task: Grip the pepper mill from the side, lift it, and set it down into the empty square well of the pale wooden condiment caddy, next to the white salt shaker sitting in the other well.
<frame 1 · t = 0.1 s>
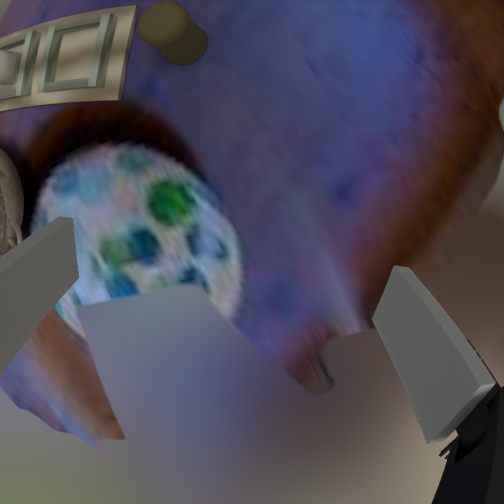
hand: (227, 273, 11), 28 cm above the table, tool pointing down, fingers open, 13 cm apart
salt shaker: (14, 68, 27), point 1 cm above the table, touching condiment caddy
cooking pot: (7, 189, 37), on the table
condiment caddy: (48, 62, 29), on the table
pepper mill: (184, 44, 30), on the table
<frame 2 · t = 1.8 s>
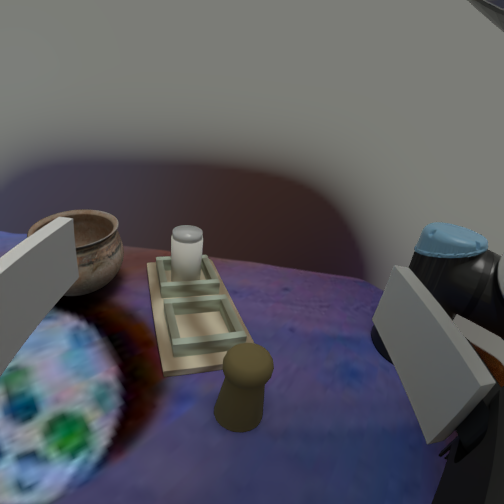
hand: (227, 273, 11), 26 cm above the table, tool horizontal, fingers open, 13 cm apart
salt shaker: (185, 280, 56), point 1 cm above the table, touching condiment caddy
cooking pot: (80, 286, 50), on the table
condiment caddy: (192, 308, 50), on the table
pepper mill: (238, 413, 33), on the table
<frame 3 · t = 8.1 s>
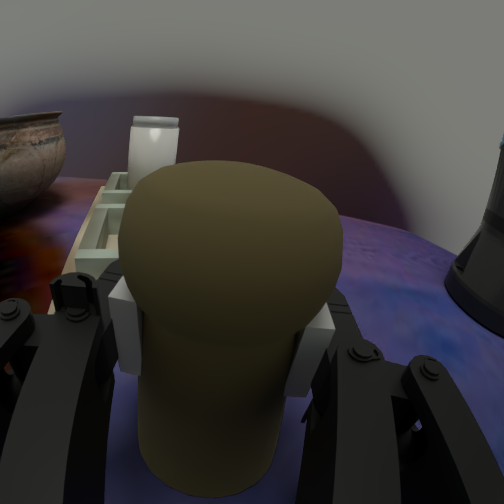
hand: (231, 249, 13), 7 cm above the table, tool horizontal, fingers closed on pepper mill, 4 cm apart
salt shaker: (149, 201, 34), point 1 cm above the table, touching condiment caddy
cooking pot: (5, 210, 29), on the table
condiment caddy: (150, 233, 29), on the table
pepper mill: (206, 439, 11), on the table, touching gripper
when the fingers open (9 cm above the table, at t = 14.0 s): pepper mill moves 1 cm, resting on condiment caddy.
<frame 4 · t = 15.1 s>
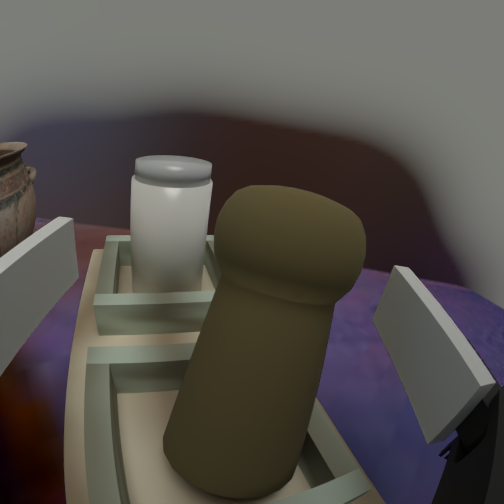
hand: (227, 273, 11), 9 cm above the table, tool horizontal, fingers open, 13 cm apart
salt shaker: (166, 289, 23), point 1 cm above the table, touching condiment caddy
condiment caddy: (179, 364, 18), on the table
pepper mill: (230, 452, 11), point 2 cm above the table, touching condiment caddy
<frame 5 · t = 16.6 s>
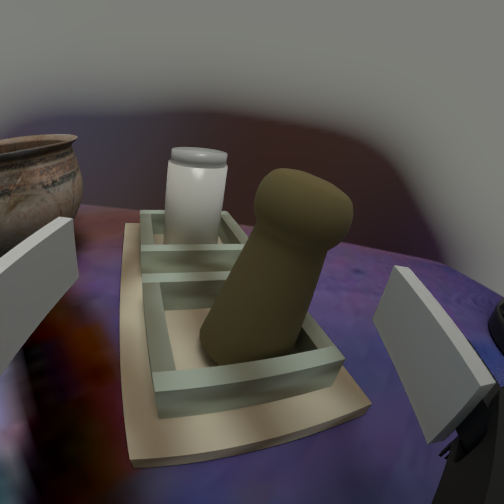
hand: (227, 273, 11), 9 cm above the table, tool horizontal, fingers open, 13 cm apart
salt shaker: (189, 249, 31), point 1 cm above the table, touching condiment caddy
cooking pot: (12, 256, 25), on the table
condiment caddy: (202, 298, 25), on the table
pepper mill: (244, 346, 18), point 2 cm above the table, touching condiment caddy
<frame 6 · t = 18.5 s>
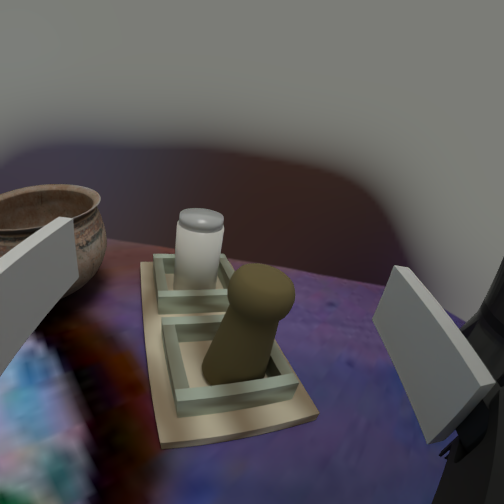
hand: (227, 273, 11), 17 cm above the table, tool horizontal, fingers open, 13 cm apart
salt shaker: (194, 288, 39), point 1 cm above the table, touching condiment caddy
cooking pot: (46, 289, 33), on the table
condiment caddy: (204, 330, 33), on the table
pepper mill: (232, 371, 27), point 1 cm above the table, touching condiment caddy
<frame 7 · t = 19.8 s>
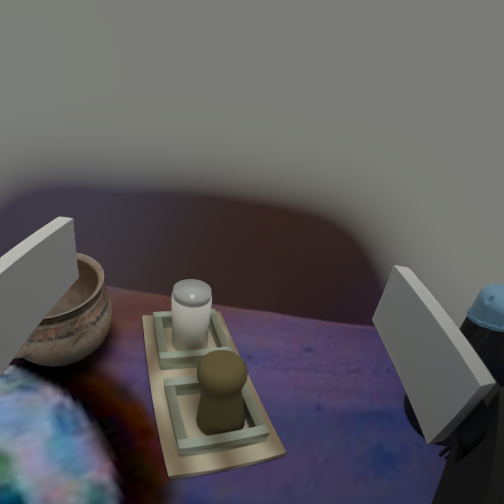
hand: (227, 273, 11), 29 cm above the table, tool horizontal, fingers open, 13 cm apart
salt shaker: (189, 343, 44), point 1 cm above the table, touching condiment caddy
cooking pot: (63, 344, 39), on the table
condiment caddy: (198, 381, 39), on the table
pepper mill: (220, 420, 32), point 1 cm above the table, touching condiment caddy
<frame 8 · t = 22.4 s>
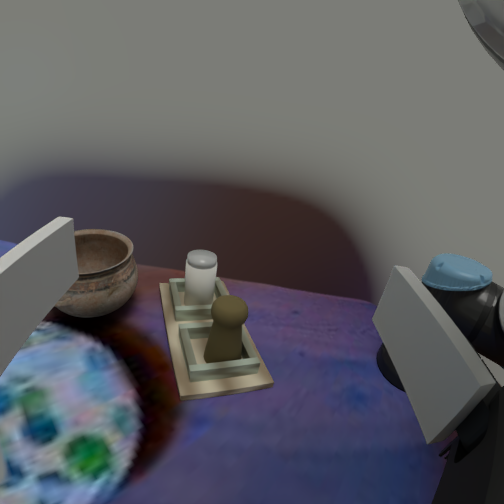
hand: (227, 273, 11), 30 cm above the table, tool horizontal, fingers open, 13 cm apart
salt shaker: (198, 303, 57), point 1 cm above the table, touching condiment caddy
cooking pot: (93, 305, 51), on the table
condiment caddy: (205, 331, 51), on the table
pepper mill: (222, 357, 45), point 1 cm above the table, touching condiment caddy
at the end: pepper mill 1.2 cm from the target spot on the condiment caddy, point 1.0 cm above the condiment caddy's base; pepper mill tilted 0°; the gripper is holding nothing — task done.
